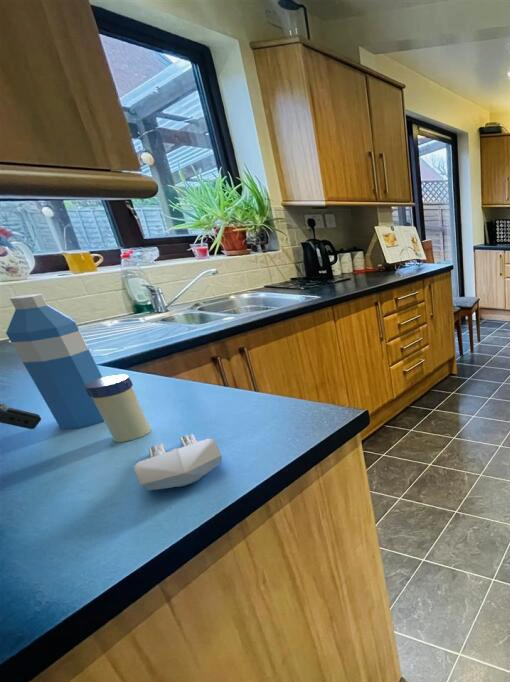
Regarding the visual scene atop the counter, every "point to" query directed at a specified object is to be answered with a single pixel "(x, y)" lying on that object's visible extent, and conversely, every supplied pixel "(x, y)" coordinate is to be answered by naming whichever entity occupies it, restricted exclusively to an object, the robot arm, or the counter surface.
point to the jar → (123, 415)
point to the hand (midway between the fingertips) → (37, 422)
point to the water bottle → (55, 360)
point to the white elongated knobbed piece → (178, 463)
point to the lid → (108, 385)
